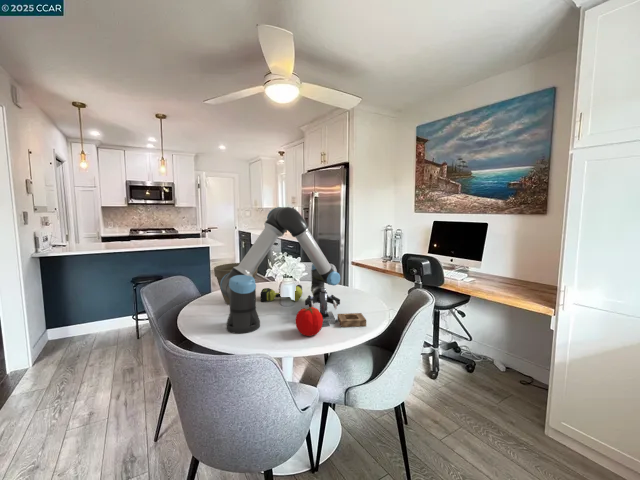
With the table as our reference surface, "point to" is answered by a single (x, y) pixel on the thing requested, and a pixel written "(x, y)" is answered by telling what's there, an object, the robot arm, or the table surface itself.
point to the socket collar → (329, 318)
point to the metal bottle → (323, 302)
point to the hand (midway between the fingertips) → (324, 307)
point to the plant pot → (222, 271)
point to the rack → (351, 320)
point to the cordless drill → (270, 294)
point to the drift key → (325, 325)
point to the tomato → (309, 321)
